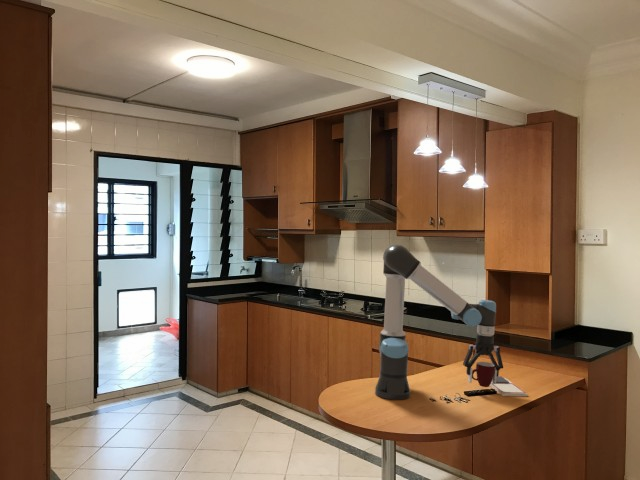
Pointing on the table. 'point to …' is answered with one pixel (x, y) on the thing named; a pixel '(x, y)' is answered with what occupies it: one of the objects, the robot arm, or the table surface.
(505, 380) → the board
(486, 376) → the mug
